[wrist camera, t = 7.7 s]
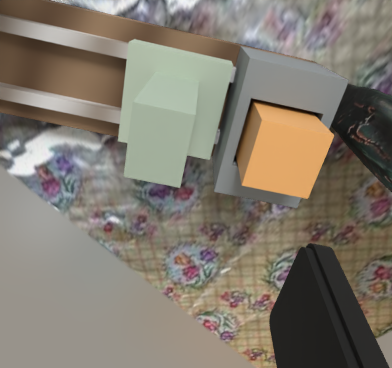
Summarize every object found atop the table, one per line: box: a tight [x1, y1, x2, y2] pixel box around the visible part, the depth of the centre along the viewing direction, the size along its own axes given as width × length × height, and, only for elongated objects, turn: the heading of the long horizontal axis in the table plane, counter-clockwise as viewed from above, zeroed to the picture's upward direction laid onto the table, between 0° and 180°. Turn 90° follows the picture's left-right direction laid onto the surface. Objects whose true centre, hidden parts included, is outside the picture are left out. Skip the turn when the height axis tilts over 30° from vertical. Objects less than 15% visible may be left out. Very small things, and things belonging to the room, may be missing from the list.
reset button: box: [236, 98, 334, 199], centre depth 21 cm, size 4×4×5 cm
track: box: [0, 0, 317, 156], centre depth 26 cm, size 26×9×4 cm, turn 78°
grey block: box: [213, 46, 349, 208], centre depth 25 cm, size 6×9×6 cm, turn 168°
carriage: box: [118, 39, 233, 188], centre depth 21 cm, size 7×7×10 cm
